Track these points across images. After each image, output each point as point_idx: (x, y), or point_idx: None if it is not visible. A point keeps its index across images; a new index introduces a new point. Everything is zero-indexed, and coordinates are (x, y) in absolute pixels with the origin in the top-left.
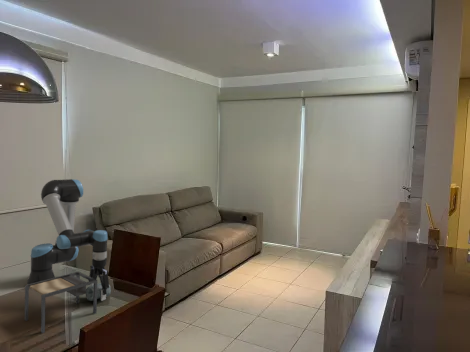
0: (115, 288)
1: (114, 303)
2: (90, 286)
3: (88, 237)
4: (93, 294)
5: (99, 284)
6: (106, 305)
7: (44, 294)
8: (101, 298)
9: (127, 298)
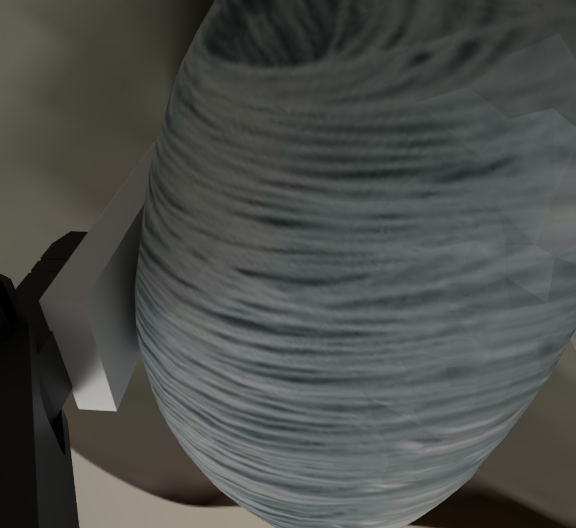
0: (475, 489)
1: (22, 248)
2: (494, 155)
3: None
4: (195, 34)
5: (315, 424)
6: (8, 124)
7: None
8: (144, 163)
9: (91, 417)
